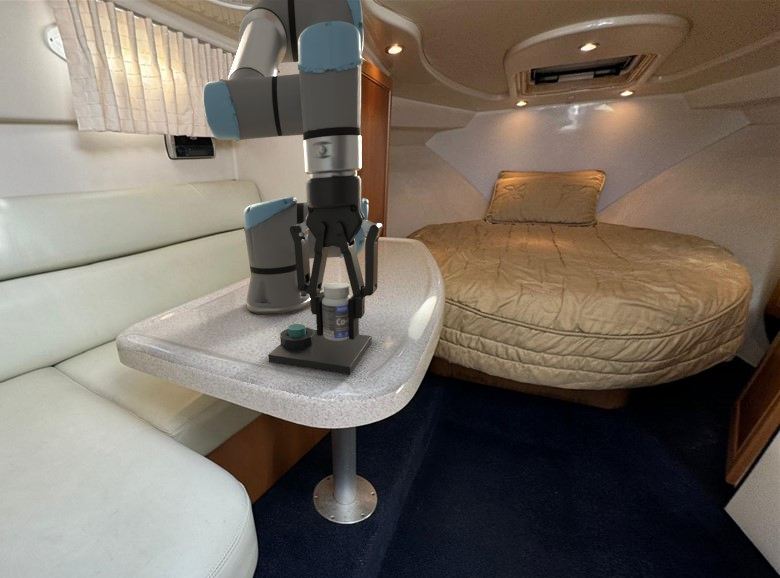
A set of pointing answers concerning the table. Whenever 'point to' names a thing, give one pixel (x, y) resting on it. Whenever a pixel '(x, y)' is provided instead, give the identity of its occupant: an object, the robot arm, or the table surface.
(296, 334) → the power button
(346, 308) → the pill bottle
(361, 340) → the dark grey base board
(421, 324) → the table surface
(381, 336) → the table surface
